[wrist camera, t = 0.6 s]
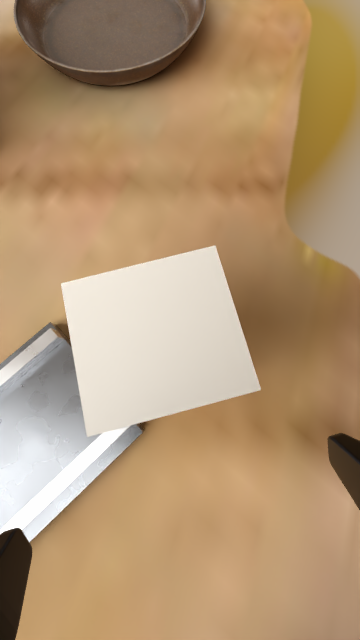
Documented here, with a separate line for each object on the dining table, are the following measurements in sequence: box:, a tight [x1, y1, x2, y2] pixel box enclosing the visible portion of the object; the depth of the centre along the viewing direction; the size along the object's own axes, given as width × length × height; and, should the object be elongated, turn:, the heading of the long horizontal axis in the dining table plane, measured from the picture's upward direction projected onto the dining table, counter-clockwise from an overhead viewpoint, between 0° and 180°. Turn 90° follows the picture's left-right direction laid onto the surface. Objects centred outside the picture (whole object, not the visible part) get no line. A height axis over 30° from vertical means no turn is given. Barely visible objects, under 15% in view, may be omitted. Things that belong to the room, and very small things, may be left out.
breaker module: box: [61, 246, 261, 437], centre depth 17 cm, size 7×6×13 cm
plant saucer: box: [14, 0, 206, 86], centre depth 30 cm, size 21×21×3 cm
